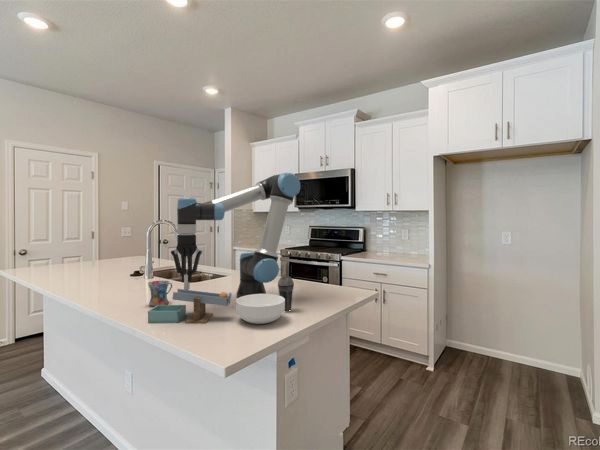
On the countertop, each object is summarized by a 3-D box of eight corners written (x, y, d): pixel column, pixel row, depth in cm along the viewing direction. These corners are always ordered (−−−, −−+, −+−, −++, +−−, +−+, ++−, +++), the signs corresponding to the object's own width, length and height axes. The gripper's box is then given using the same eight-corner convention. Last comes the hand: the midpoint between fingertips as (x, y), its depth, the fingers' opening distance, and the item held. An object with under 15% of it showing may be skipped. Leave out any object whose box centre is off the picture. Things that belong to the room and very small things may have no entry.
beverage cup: (296, 309, 148) (296, 265, 148) (290, 313, 141) (290, 267, 141) (281, 307, 151) (281, 264, 150) (274, 311, 144) (275, 266, 143)
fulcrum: (212, 314, 140) (212, 292, 139) (206, 323, 129) (206, 299, 128) (193, 314, 139) (193, 292, 139) (185, 323, 128) (185, 299, 128)
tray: (185, 315, 138) (185, 304, 138) (178, 322, 129) (178, 311, 129) (157, 315, 138) (157, 305, 138) (147, 322, 129) (147, 311, 129)
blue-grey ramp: (233, 298, 144) (234, 288, 144) (227, 306, 131) (228, 296, 131) (182, 292, 143) (183, 282, 143) (172, 300, 130) (173, 289, 130)
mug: (156, 308, 148) (156, 285, 147) (143, 305, 152) (143, 283, 152) (178, 302, 158) (178, 280, 158) (165, 300, 163) (165, 278, 162)
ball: (228, 299, 136) (228, 291, 136) (226, 302, 132) (227, 293, 132) (219, 299, 136) (219, 291, 136) (217, 302, 132) (218, 293, 132)
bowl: (264, 332, 119) (264, 309, 119) (225, 322, 130) (225, 301, 129) (294, 318, 136) (294, 297, 136) (257, 310, 146) (257, 291, 146)
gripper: (204, 233, 143) (204, 287, 144) (174, 233, 143) (174, 287, 143) (199, 235, 135) (199, 291, 136) (168, 234, 135) (168, 291, 136)
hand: (186, 289), depth 140 cm, fingers closed
